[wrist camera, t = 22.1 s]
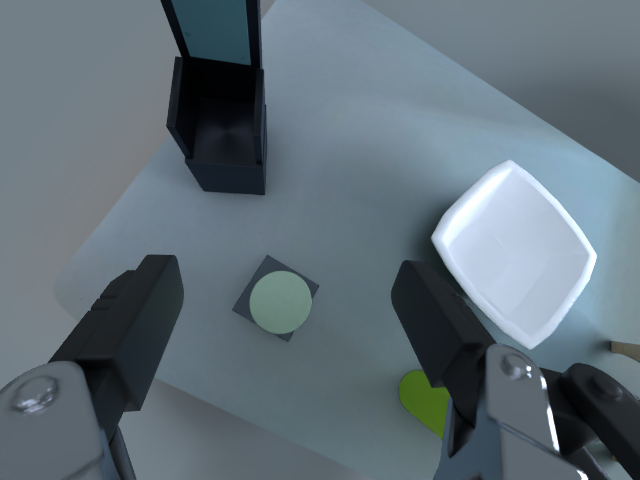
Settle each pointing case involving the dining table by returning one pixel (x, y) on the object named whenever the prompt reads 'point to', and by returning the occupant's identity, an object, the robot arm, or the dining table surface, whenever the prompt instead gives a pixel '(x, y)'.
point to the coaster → (264, 269)
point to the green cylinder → (280, 302)
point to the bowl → (515, 252)
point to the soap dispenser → (424, 401)
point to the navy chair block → (219, 93)
